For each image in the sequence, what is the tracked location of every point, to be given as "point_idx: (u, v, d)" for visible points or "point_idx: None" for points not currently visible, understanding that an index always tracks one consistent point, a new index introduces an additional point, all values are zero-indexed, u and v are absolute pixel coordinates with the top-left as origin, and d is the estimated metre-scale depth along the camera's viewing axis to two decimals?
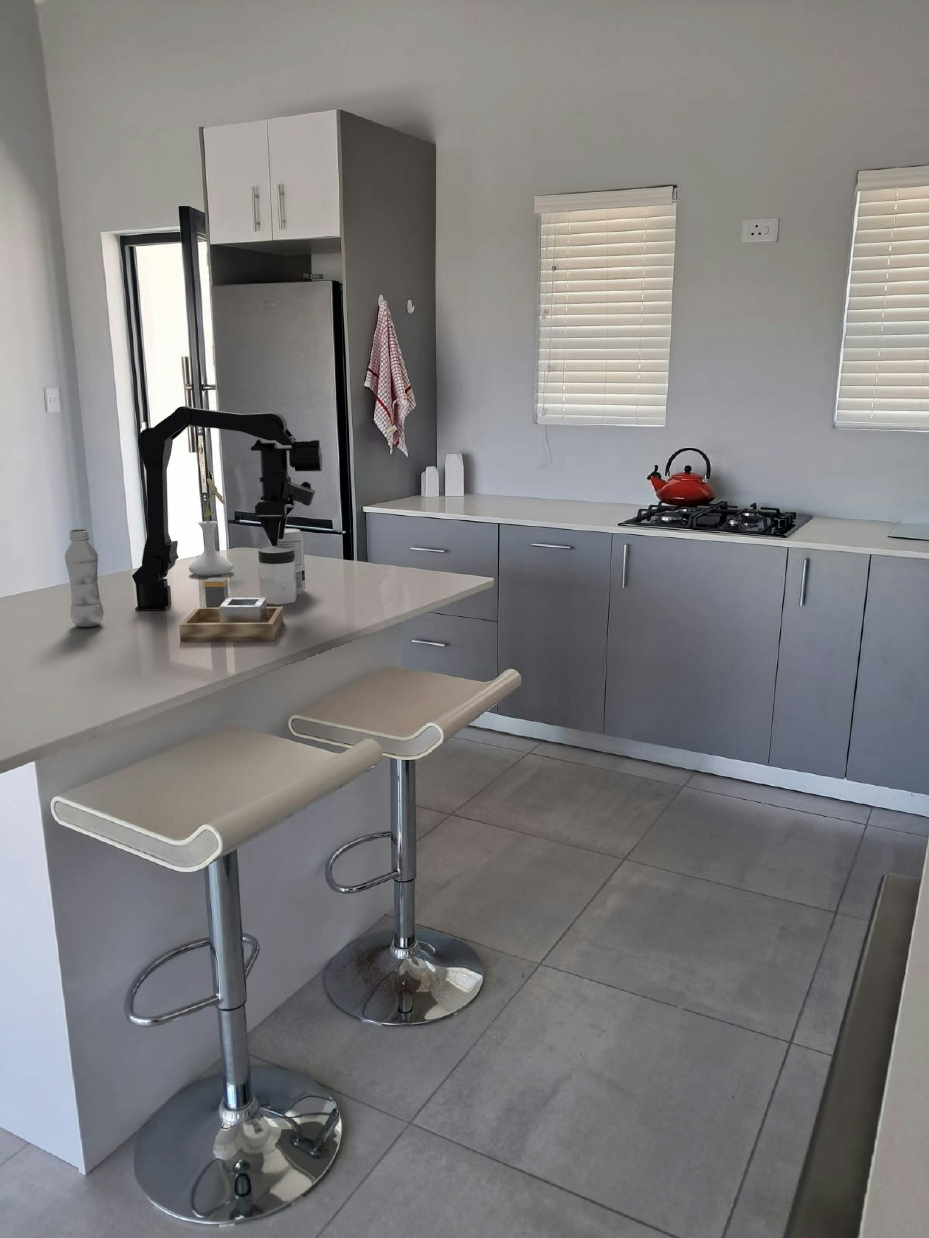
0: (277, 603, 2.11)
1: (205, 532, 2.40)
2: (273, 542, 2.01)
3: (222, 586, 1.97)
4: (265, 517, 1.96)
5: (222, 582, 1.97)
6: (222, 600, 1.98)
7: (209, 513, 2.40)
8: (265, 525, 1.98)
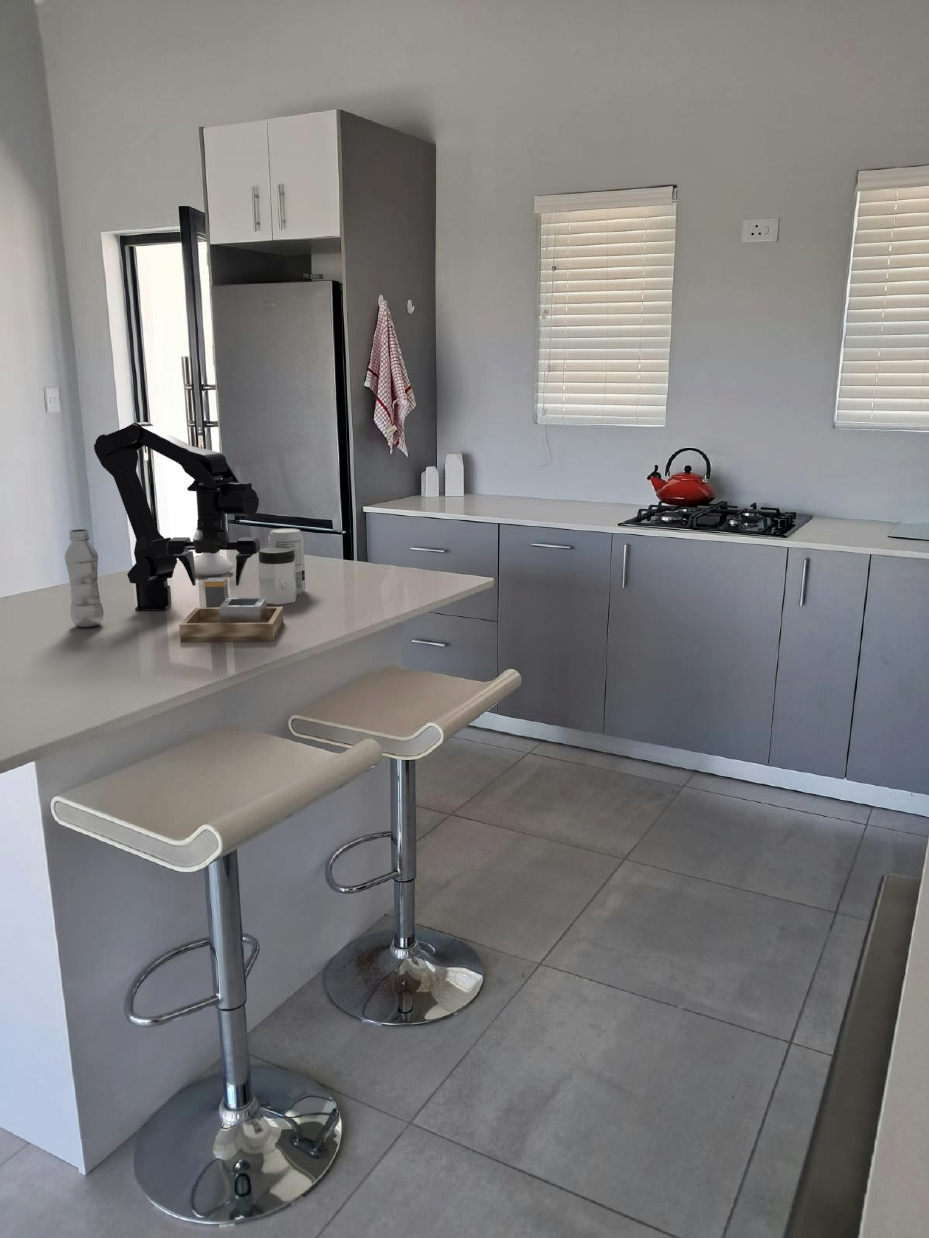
0: (277, 603, 2.11)
1: None
2: None
3: (222, 586, 1.97)
4: None
5: (222, 582, 1.97)
6: (222, 600, 1.98)
7: None
8: None
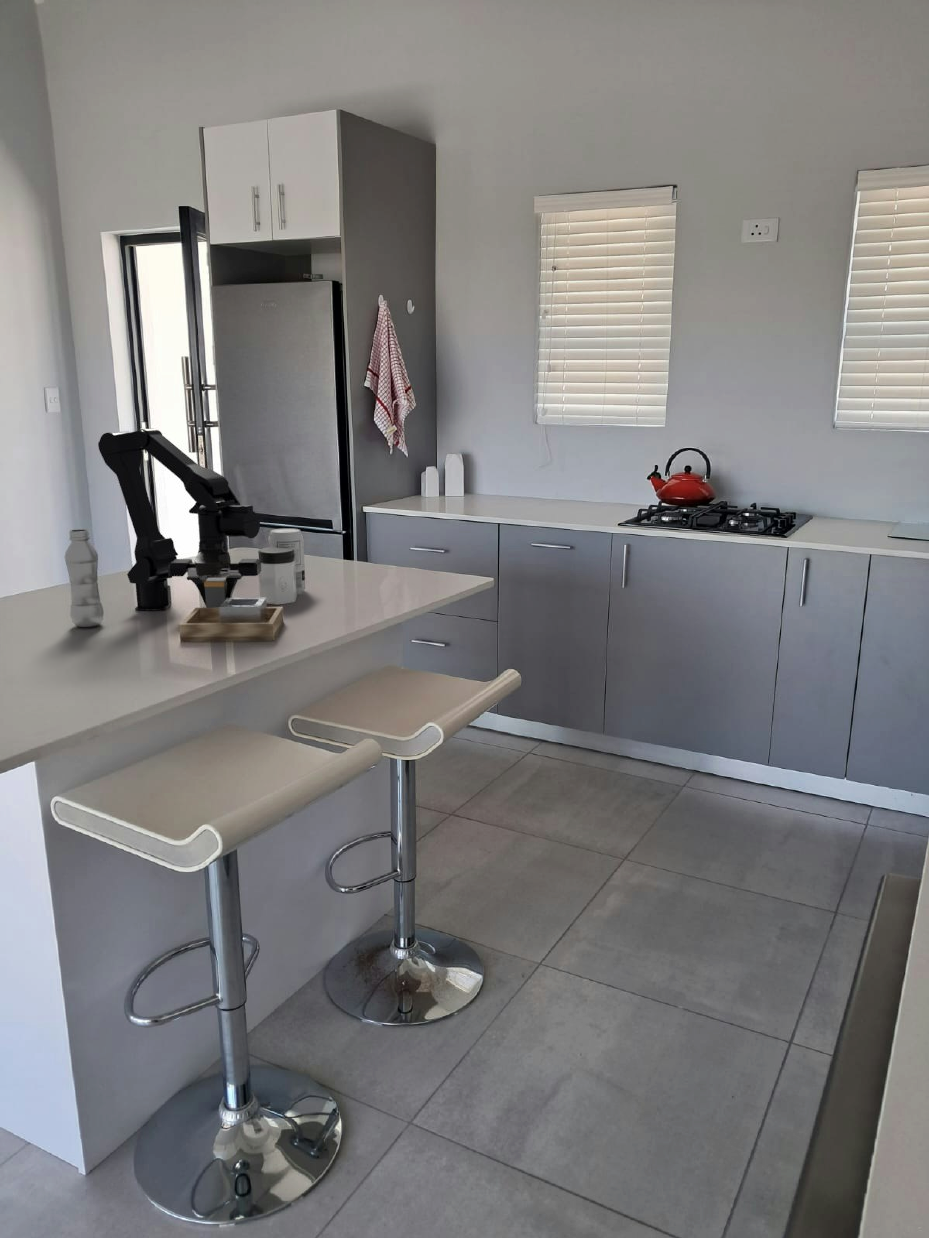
0: (277, 603, 2.11)
1: None
2: None
3: (222, 586, 1.97)
4: None
5: (222, 582, 1.97)
6: (222, 600, 1.98)
7: None
8: None
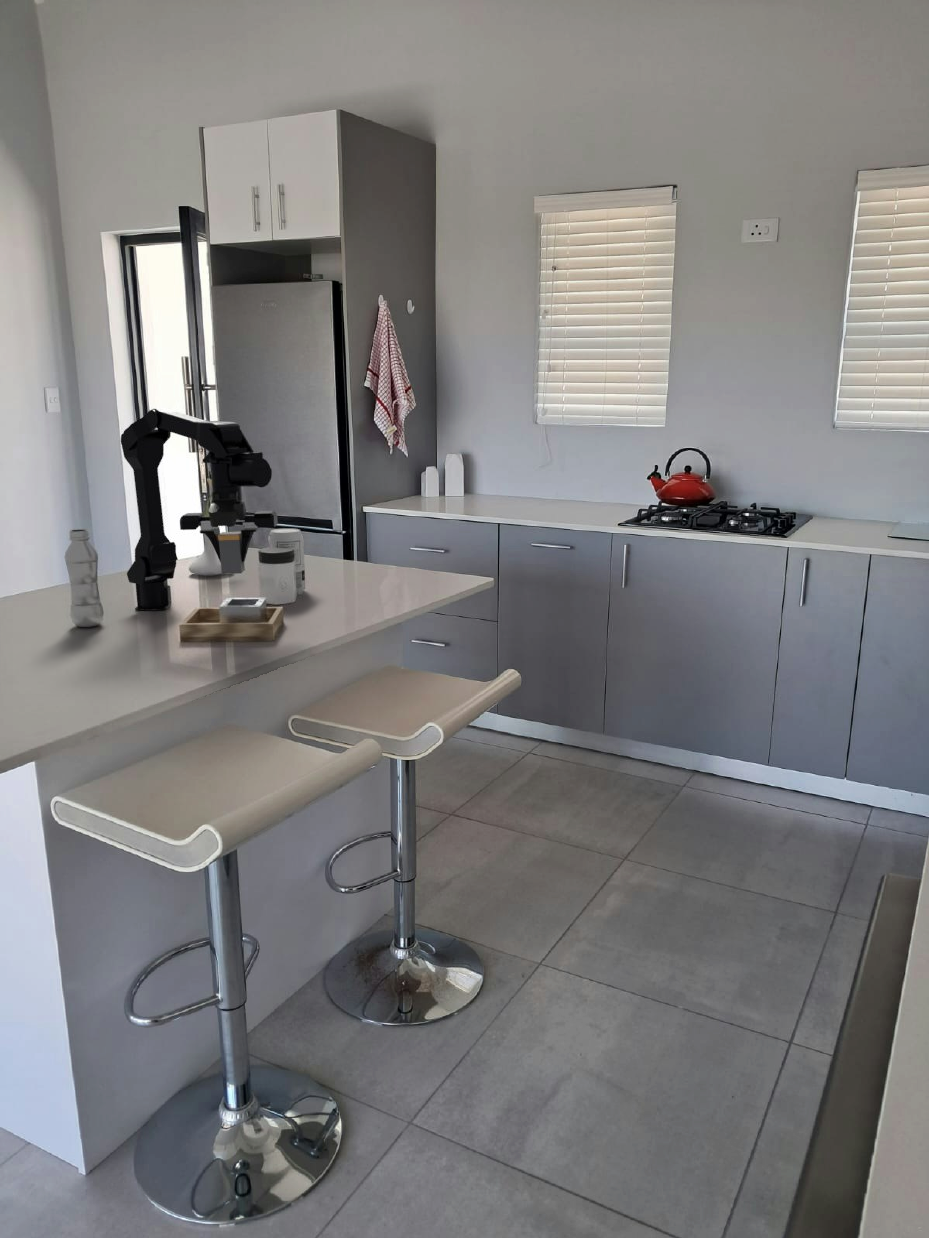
0: (277, 603, 2.11)
1: None
2: None
3: (237, 539, 1.87)
4: None
5: (237, 535, 1.87)
6: (237, 554, 1.88)
7: None
8: None
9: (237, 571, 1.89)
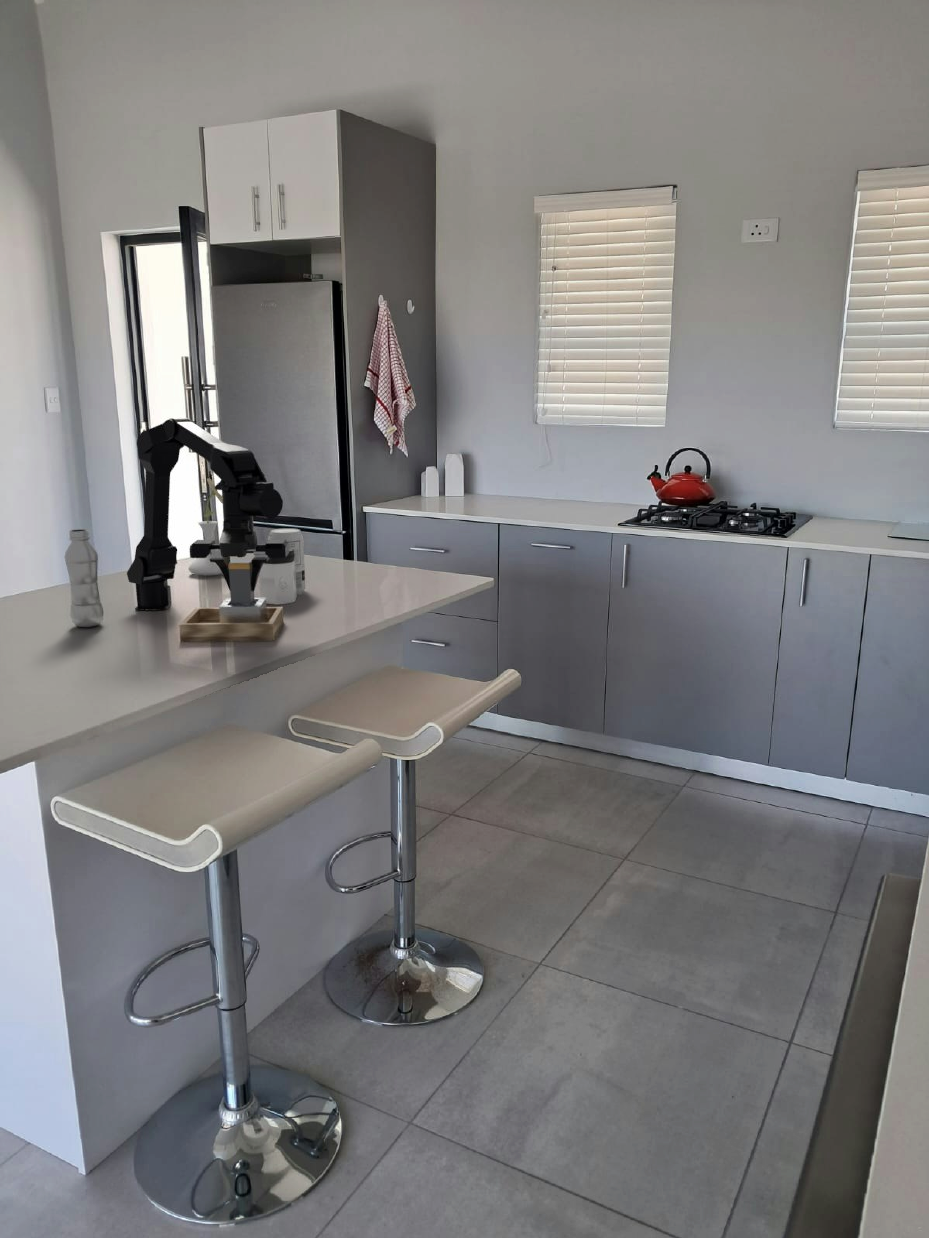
0: (277, 603, 2.11)
1: (205, 532, 2.40)
2: None
3: (247, 568, 1.84)
4: None
5: (247, 564, 1.83)
6: (247, 583, 1.84)
7: (209, 513, 2.40)
8: None
9: (247, 600, 1.85)
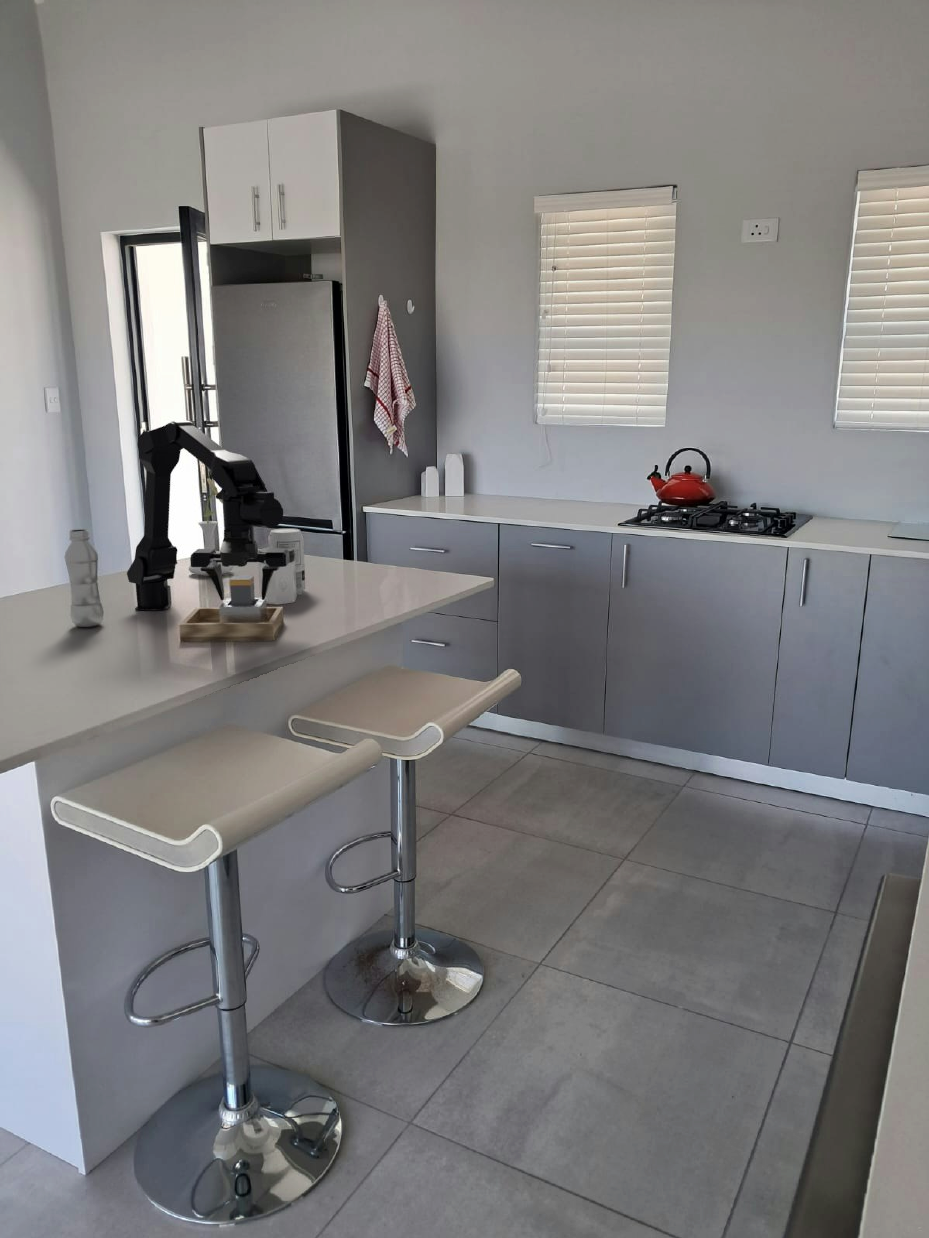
0: (277, 603, 2.11)
1: (205, 532, 2.40)
2: None
3: (248, 585, 1.84)
4: None
5: (248, 580, 1.84)
6: (248, 600, 1.85)
7: (209, 513, 2.40)
8: None
9: None
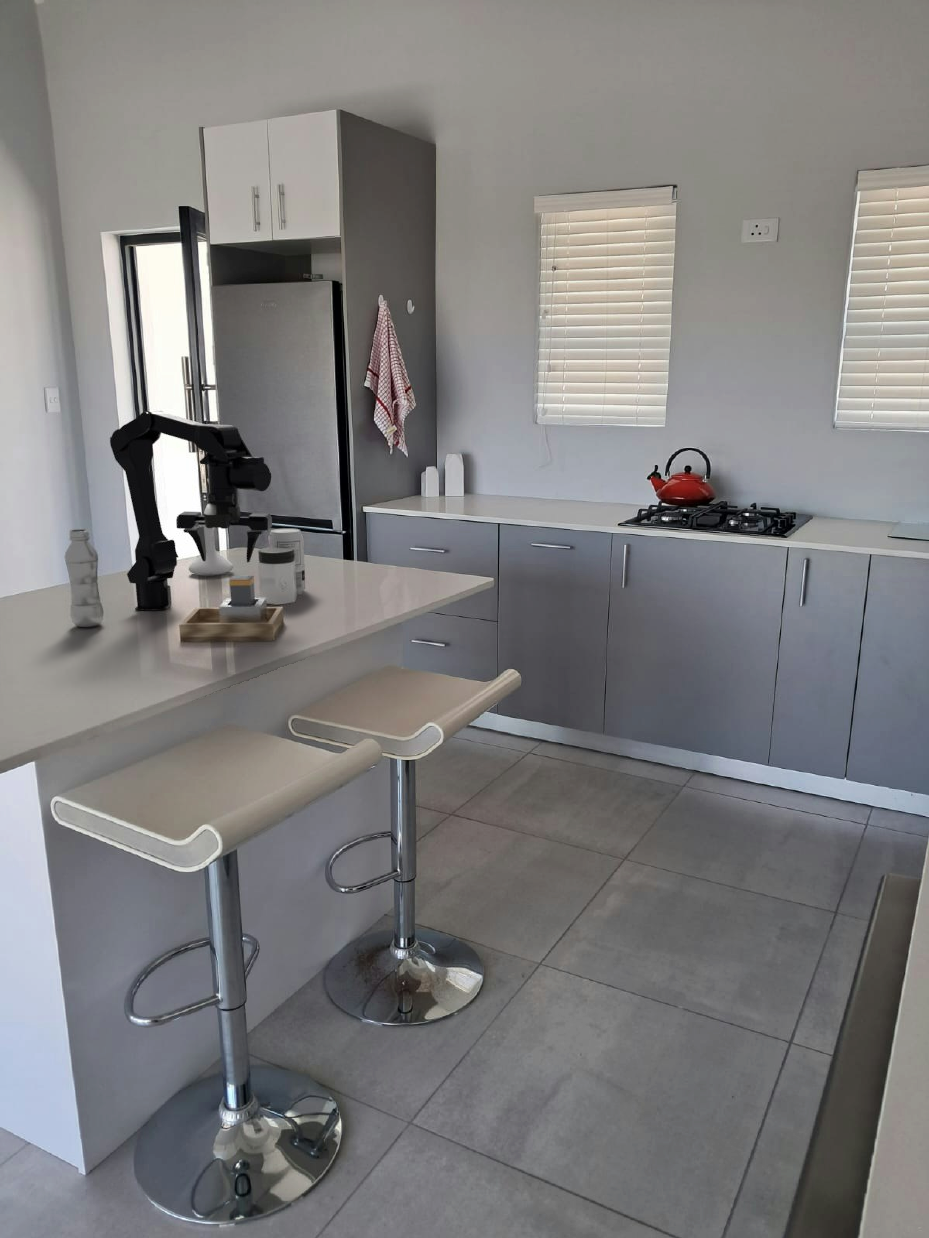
0: (277, 603, 2.11)
1: (205, 532, 2.40)
2: None
3: (248, 585, 1.84)
4: None
5: (248, 580, 1.84)
6: (248, 600, 1.85)
7: None
8: None
9: None
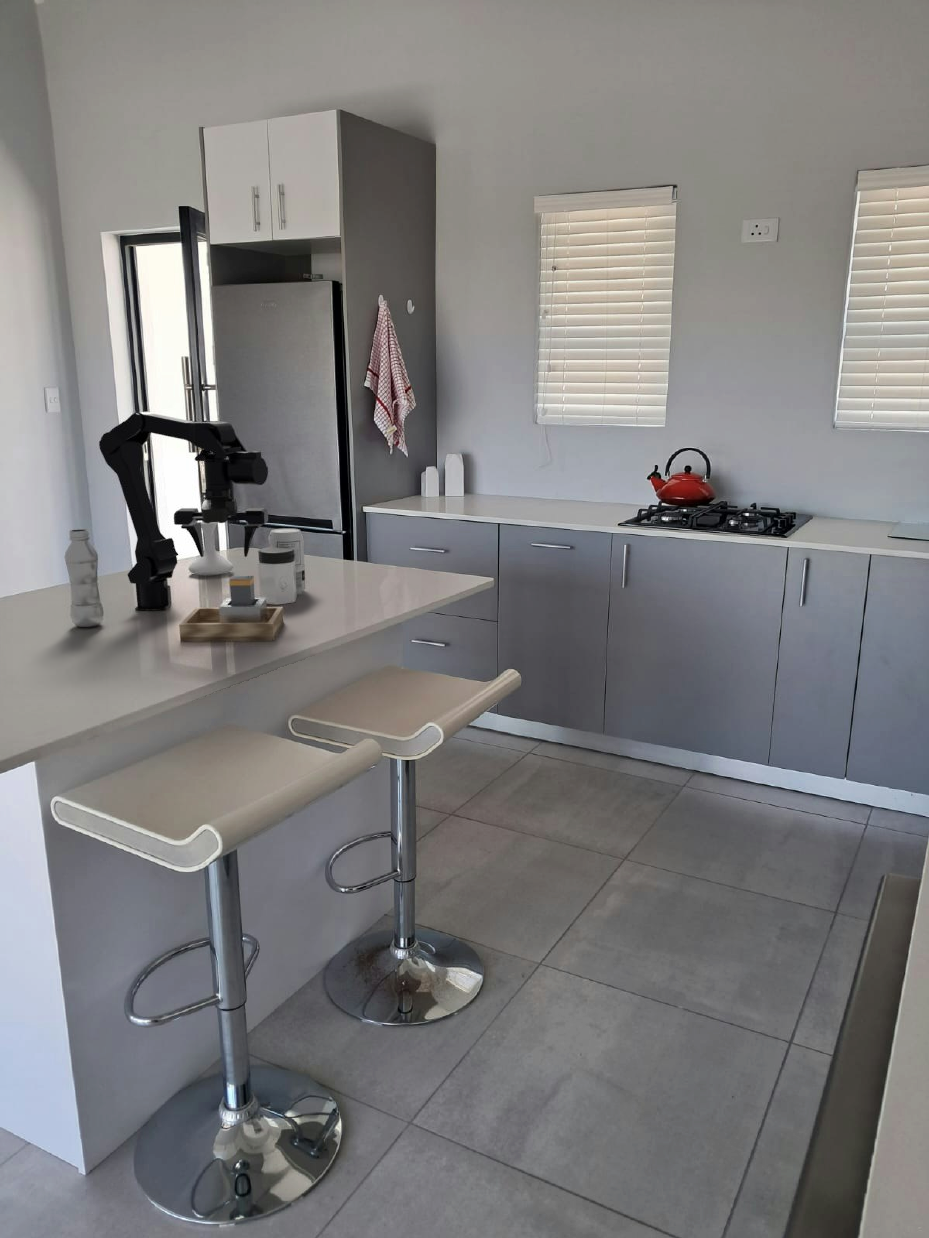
0: (277, 603, 2.11)
1: (205, 532, 2.40)
2: None
3: (248, 585, 1.84)
4: None
5: (248, 580, 1.84)
6: (248, 600, 1.85)
7: None
8: None
9: None
